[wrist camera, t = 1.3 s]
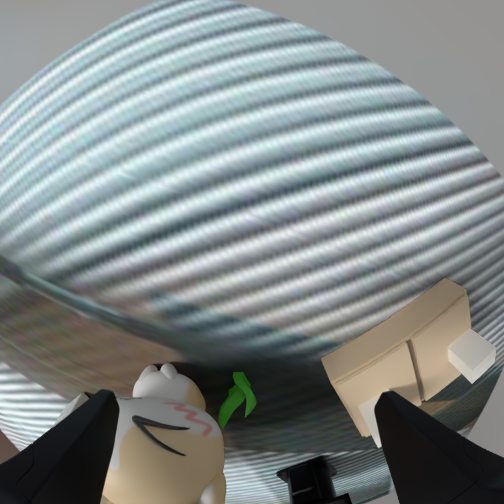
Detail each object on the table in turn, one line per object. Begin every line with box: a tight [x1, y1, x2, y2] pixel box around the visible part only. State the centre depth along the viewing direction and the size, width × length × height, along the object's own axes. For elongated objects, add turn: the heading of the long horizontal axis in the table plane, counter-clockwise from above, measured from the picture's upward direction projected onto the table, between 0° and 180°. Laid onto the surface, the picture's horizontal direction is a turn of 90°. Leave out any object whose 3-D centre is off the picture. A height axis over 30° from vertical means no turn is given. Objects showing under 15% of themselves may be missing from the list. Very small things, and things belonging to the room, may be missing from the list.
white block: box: [411, 294, 496, 401], centre depth 17 cm, size 9×6×4 cm
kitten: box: [100, 363, 256, 504], centre depth 15 cm, size 15×10×15 cm
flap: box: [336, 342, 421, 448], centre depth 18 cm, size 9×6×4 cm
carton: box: [320, 278, 467, 437], centre depth 21 cm, size 10×14×4 cm
